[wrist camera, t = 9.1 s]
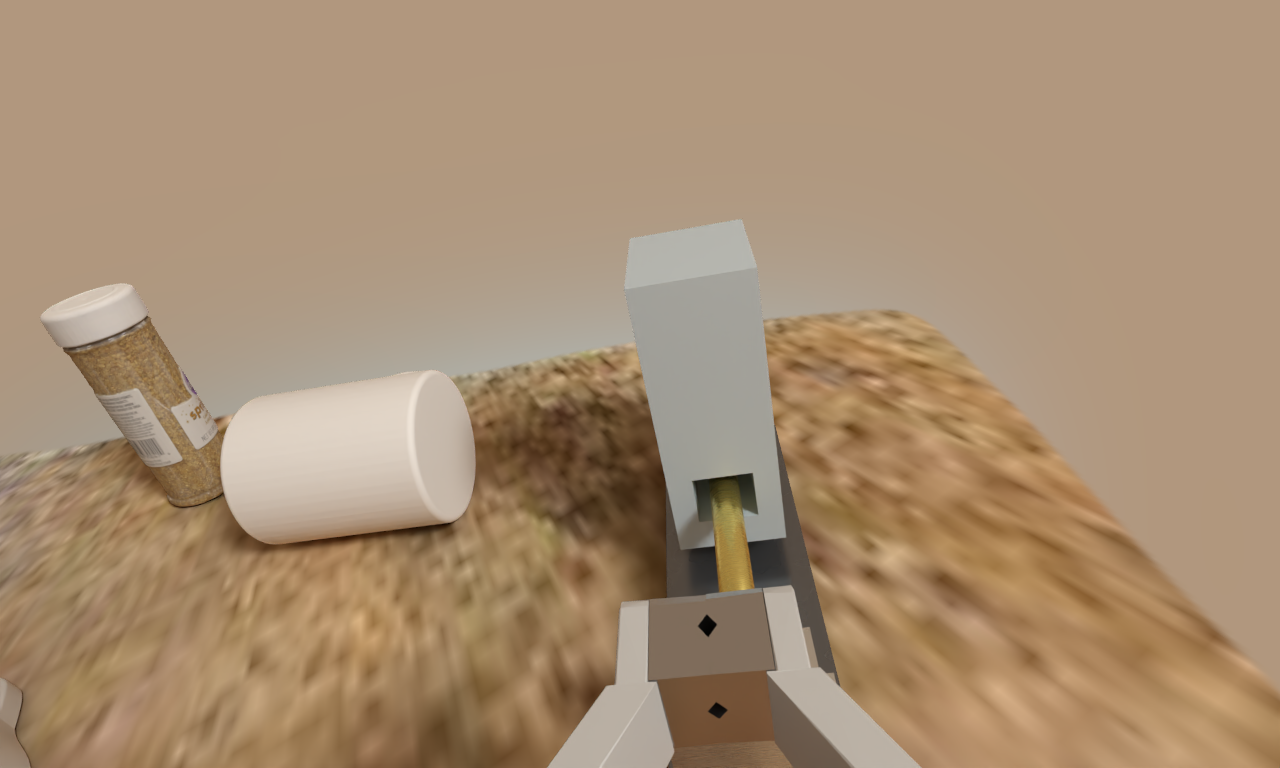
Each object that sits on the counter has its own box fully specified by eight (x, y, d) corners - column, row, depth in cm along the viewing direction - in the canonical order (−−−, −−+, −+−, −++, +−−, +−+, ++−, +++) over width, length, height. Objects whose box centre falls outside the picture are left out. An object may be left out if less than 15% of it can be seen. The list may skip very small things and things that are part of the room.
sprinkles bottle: (258, 473, 45) (144, 283, 38) (190, 518, 42) (52, 320, 35) (224, 458, 47) (112, 277, 40) (158, 499, 44) (23, 312, 37)
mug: (452, 555, 34) (394, 426, 30) (270, 577, 36) (190, 456, 32) (500, 420, 45) (462, 310, 41) (357, 441, 46) (306, 336, 42)
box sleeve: (680, 549, 29) (624, 289, 23) (678, 474, 33) (630, 238, 27) (786, 537, 28) (756, 267, 22) (769, 462, 33) (741, 219, 26)
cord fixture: (672, 809, 22) (615, 622, 17) (667, 450, 38) (637, 305, 34) (864, 795, 21) (856, 596, 17) (775, 435, 38) (759, 285, 33)
